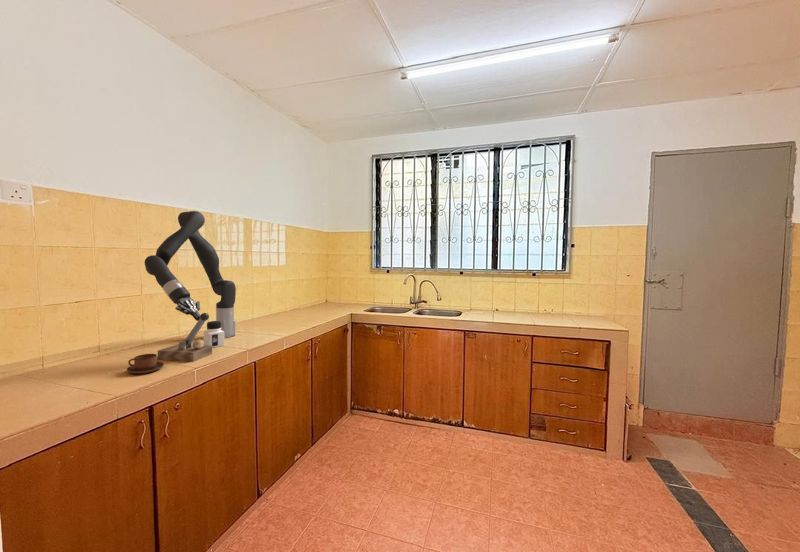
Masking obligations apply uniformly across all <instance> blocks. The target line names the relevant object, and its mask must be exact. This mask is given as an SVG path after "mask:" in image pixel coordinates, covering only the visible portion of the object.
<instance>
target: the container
mask: <svg viewBox="0 0 800 552" xmlns="http://www.w3.org/2000/svg"><path fill="white" fill-rule="evenodd" d="M220 329H221V322H220V321H216V320H210V321H208V322H206V330H203V343H204V345H207V346H212V349H213V348H216V347H217V348H218V347H224V346H225V338H224V331H222V330H220Z"/></svg>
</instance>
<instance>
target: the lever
mask: <svg viewBox="0 0 800 552" xmlns="http://www.w3.org/2000/svg"><path fill="white" fill-rule="evenodd" d="M209 319H210V314H208V312H203V313H200V319H199V320H198V321H196V323H195V325H194V327H193V328H192V329H191V331H190V332H189V333H188V335H187V337H186V338H185V339H186V340H185V339H184V341H186V348H187V347H189V346H190V343H191V342H192V340H193V341H194V339H195V337H196V335H197V334H198V333H199V331H200V330H201V329H202V327H203V326H204V325H205V322H206V321H208V320H209Z"/></svg>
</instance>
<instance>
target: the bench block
mask: <svg viewBox="0 0 800 552" xmlns="http://www.w3.org/2000/svg"><path fill="white" fill-rule="evenodd" d="M185 340H186V338H185V339H184V340H178V343H176V344H174V345H170V346H167V347H165V348H161V349H158V350H157V360H166V361H167V360H168V361H177V362H178V361H180V362H192V363H193V362H196V361H199V360H201V359H203V358H206V357H208V356H210V355H211V356H212V354H213V348H212V346H207V345H204V340H202V339H200V338H199V339H195V340H194V339H193V340H192V342H191V343H190V346H189V347H187V348H186V341H185Z"/></svg>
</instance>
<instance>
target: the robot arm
mask: <svg viewBox="0 0 800 552" xmlns="http://www.w3.org/2000/svg"><path fill="white" fill-rule="evenodd" d="M205 219H206V218H205V216H204V215H203V213H201V212H200V211H197V210H192V211H191V210H190V211H183V212H180V213H179V214H178V216H177V221H178V224H179V226H180V228H179V229H177V231H175V232H173V233H172V234H170V235H169V236H168V237H167V238H165V239H164V240H163V242H161V243H160V245H159V246H158V247H157V249H156V251H155V255H154V254H153V255H148V256H147V257H146V258H144V266H145V267H144V268H145V271H146V272H147V274H148V275H151V276H154V278H155V281H156V282H157V284H158V285H159V286H160V287H161V288H162V290H163V291H164V293H165V294H166V296H168V298H169V299H170V300H171V301H172V303H173V304H175V305H176V306H175V309H174V310H176V311H179V312H180V313H182V314H185V315H186V316H191V317H192V318H193V319H194V320H195V321H196V322H198V320H199V319H200V315H201V313H200V312H199V311H201V304H200V303H201V302H200V301H198V300H197V301H194V299H193V298H192V297H191V293H190V292H189V290H187V288H186V287H185V286H184V284H183V283H182V282H181V281H180V280H178V278H177V277H176V276H175V275H174V274H173V273H172V272H171V270H170V269H169V267H168V266H169V264H170V261H171V259H172V258H173V257H174V256H175V254H176V253H177V252H178V251H179V249H180V248H181V247H182V245H184V244H185V243H186V242H187V241H189V242H190V245H191V247H192V248H193V250H194V252H195V254H196V256H197V259H198V260H199V262H200V263H201V265H202V268H203V270H204V272H205V274H206V276H207V277H208V278H207V279H208V280H209V283H210V285H211V288H212V292H214V294H215V295H217V296H220V300H219V301H217V302H216V304H215V316H216V317H215V319H216V320H215V321H220V322H221V329H220V330H222V331H224V339H225V338H232V337H234V336H236V319H235V311H234V310H235V306H234V305H235V302H236V295H237V288H236V285H235V282H234V281H231V280H228V279H227V280H225V279H224V278H223V276H222V274H221V271H220V258H219V256H218V254H217V251H216V249H215V247H214V246H213V245H212V243H210V242H209V241H208V240H206V239H205V238H204V237H203V235H201V233H200V231H199V230H200V229H201V228H202V227H203V226H204V224H205Z"/></svg>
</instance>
